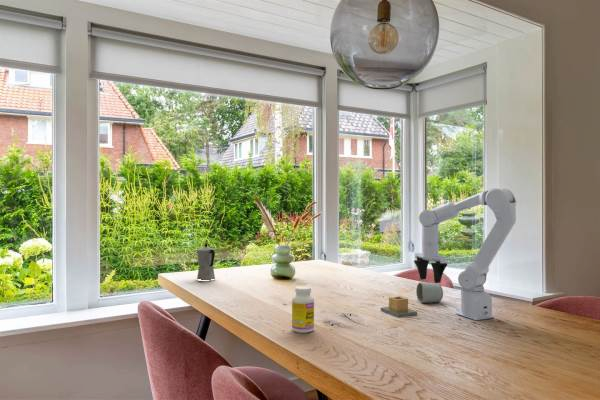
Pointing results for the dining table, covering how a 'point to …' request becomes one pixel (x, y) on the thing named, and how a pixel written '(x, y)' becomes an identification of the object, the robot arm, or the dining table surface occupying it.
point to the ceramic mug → (429, 292)
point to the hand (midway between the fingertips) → (430, 280)
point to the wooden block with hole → (398, 303)
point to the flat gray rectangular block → (399, 314)
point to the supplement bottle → (303, 310)
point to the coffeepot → (206, 263)
